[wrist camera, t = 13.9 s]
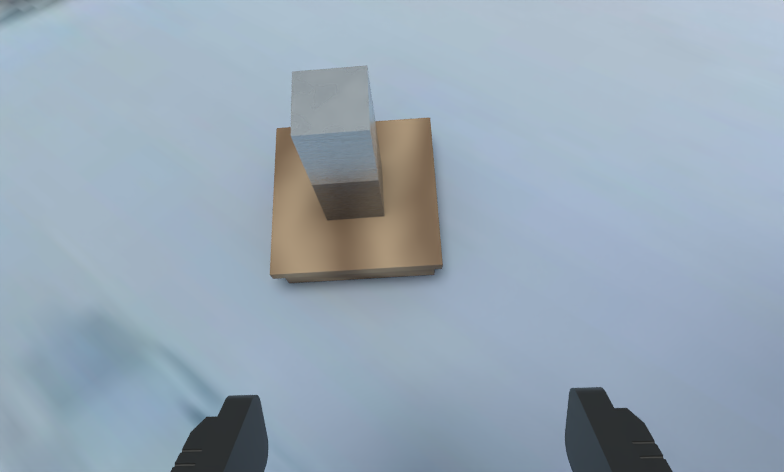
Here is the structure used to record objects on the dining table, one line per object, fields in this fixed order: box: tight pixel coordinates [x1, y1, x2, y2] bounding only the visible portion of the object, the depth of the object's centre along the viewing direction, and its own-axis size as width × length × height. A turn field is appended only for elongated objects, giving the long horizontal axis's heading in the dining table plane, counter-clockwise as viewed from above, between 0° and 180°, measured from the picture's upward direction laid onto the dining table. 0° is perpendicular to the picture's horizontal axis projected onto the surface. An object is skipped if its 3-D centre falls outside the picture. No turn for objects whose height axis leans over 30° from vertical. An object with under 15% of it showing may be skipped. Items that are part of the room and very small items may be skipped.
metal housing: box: [291, 66, 385, 221], centre depth 35 cm, size 4×4×12 cm
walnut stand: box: [270, 118, 443, 283], centre depth 43 cm, size 13×13×4 cm
